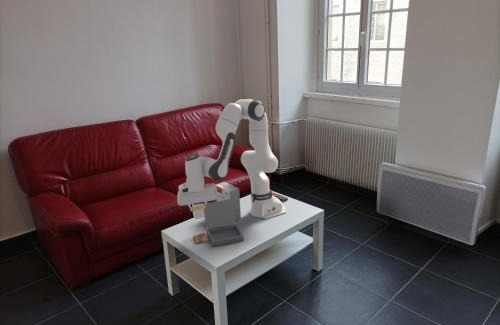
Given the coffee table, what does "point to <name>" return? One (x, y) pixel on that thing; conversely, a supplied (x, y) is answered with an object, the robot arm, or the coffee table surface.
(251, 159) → the robot arm
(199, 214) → the block
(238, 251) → the coffee table surface
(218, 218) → the lid
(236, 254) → the coffee table surface
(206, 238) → the board
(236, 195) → the hard drive box
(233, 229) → the case
